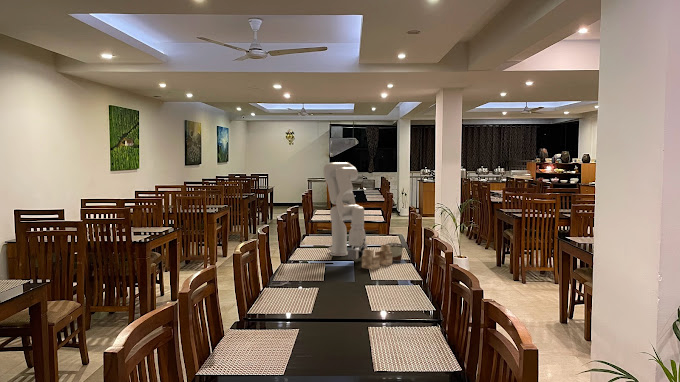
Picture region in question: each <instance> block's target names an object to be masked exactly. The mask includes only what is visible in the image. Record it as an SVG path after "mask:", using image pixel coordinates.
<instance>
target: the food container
mask: <svg viewBox="0 0 680 382" xmlns="http://www.w3.org/2000/svg"><path fill="white" fill-rule="evenodd" d="M384 244H385V245H390V252H392V262H402V259H403V257H402V256H403V249H404V245H403V244H402V243H399V242H388V243H384Z"/></svg>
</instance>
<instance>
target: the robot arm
mask: <svg viewBox="0 0 680 382" xmlns="http://www.w3.org/2000/svg"><path fill="white" fill-rule="evenodd" d="M323 176H324V179H325V182H326V183H327V189H328V194H329V195H328V196H329V201H330V203H331V204H333V205H334V206H332V207H331V208H330V211H329V215H330V221H331V246H328V251H330V252H329V255H330V256H334V257H340V256H341V257H344V256H345V257H346V256H348V250H347V249H348V246H349V248H350V250H352V249H355V248H359V258H358V259H362V256H363V250H364V249H365V248H367V249H368V245H367V243H366V242H367V238H366V231H365V208H364V207H363V206H360V205H359V204H356V199H355V195H354V192H353V190H354V186H353V183H352V181H356V180H357V179H358V177H359V171H358V170H357V168H356V166H354V165H353V164H351V163H350V162H348V161H347V162H346V161H345V162H340V161H339V162H338V161H337V162H336V161H335V162H327V163H325V165H324V167H323ZM345 221H351V223H350V225H349V226H350V227H351V228H350V229H349V233H348V235H347V232H348V231H347V226H346V224H345ZM347 239H348V240H347ZM347 245H348V246H347Z"/></svg>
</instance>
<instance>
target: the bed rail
mask: <svg viewBox="0 0 680 382" xmlns="http://www.w3.org/2000/svg"><path fill="white" fill-rule="evenodd" d="M365 249H368V247H367V248H365ZM347 251H348V255H347V260H352V261H354V260H357V259H360V258H359V247H356V248H355V249H352V250H351V249H349V250H347ZM363 255H364V250H363Z"/></svg>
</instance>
